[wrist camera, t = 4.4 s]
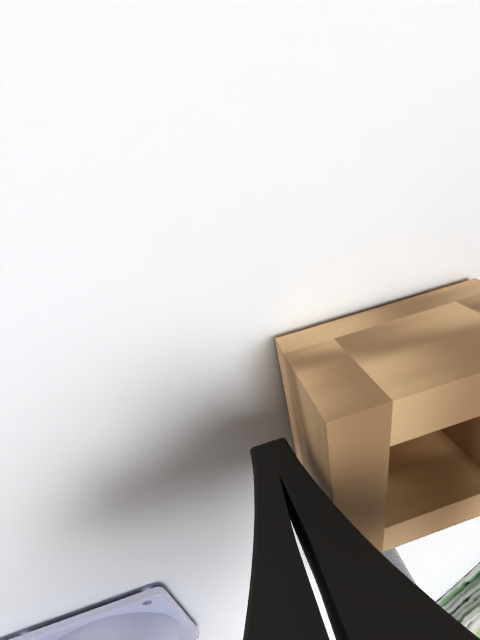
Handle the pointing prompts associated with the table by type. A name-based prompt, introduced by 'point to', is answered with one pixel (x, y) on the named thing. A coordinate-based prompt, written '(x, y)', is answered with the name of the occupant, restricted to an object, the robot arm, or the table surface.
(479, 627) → the dish towel
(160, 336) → the table surface
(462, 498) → the block
